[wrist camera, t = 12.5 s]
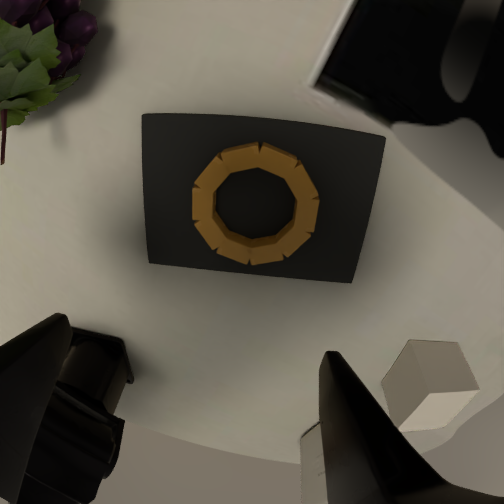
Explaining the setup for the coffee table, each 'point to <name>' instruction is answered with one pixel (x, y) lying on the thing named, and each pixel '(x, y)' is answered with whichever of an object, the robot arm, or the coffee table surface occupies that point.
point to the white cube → (428, 385)
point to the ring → (264, 246)
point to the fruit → (38, 54)
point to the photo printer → (313, 468)
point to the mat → (258, 192)
